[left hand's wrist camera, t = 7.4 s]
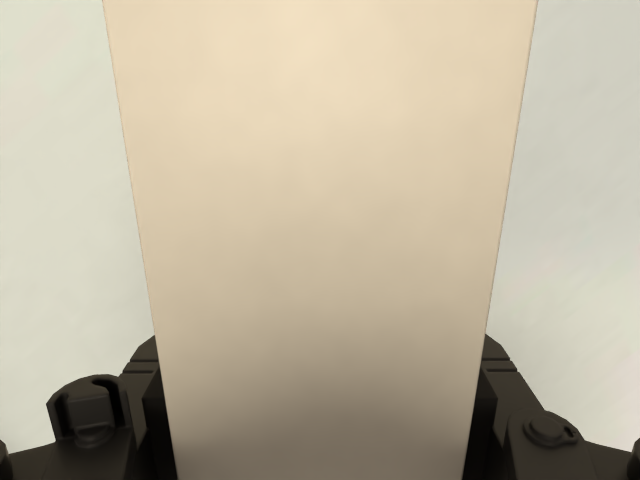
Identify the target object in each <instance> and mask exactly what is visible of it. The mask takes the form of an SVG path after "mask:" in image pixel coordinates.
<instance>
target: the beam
mask: <svg viewBox="0 0 640 480" xmlns="http://www.w3.org/2000/svg"><path fill="white" fill-rule="evenodd" d="M102 2H103V9H104V15H105V21H106V28H107V34H108V40H109V47H110V53H111V59H112V66H113V72H114V78H115V85H116V91H117V97H118V104H119V110H120V116H121V123H122V129H123V135H124V142H125V148H126V154H127V161H128V167H129V173H130V180H131V186H132V192H133V199H134V205H135V211H136V218H137V224H138V230H139V237H140V243H141V249H142V256H143V262H144V268H145V275H146V281H147V287H148V294H149V300H150V306H151V313H152V319H153V325H154V332H155V338H156V344H157V351H158V357H159V363H160V370H161V376H162V382H163V389H164V395H165V401H166V408H167V414H168V421H169V427H170V433H171V440H172V446H173V452H174V459H175V465H176V471H177V478H178V480H462V477H463V470H464V464H465V458H466V452H467V445H468V439H469V433H470V426H471V420H472V414H473V408H474V401H475V395H476V389H477V382H478V376H479V370H480V363H481V357H482V351H483V345H484V338H485V332H486V326H487V319H488V313H489V307H490V301H491V294H492V288H493V282H494V275H495V269H496V263H497V256H498V250H499V244H500V238H501V231H502V225H503V219H504V212H505V206H506V200H507V194H508V187H509V181H510V175H511V168H512V162H513V156H514V149H515V143H516V137H517V131H518V124H519V118H520V112H521V105H522V99H523V93H524V87H525V80H526V74H527V68H528V61H529V55H530V49H531V42H532V36H533V30H534V24H535V17H536V11H537V5H538V0H102Z"/></svg>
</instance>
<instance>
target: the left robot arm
mask: <svg viewBox="0 0 640 480" xmlns="http://www.w3.org/2000/svg"><path fill="white" fill-rule="evenodd" d="M46 406H47V410H48V413H49V417H50V421H51V424H52V428H53V432H54V435H55V439H56V441H55V442H54V443H51V444H48V445H45V446H41V447H37V448H33V449H28V450H24V451H20V452H16V453H11V454H8V451H7V448H6V445H5V443H3V442H2V441H1V440H0V480H178V478H177V471H176V465H175V459H174V452H173V446H172V440H171V433H170V427H169V421H168V414H167V408H166V401H165V395H164V389H163V382H162V376H161V370H160V363H159V357H158V351H157V344H156V338H155V335H154V336H152V337H151V338H150V339H148V340H147V341H146V342H144V343H143V344H142V345H140V346H139V347H138V348H137V350H136V351H135V353H134V354H133V356H132V357H131V359H130V362H128V363H127V365H126V366H125V368H124V369H123V373H122V374H120V375H119V377H117V376H113V375H109V374H102V375H92V376H88V377H84V378H80V379H78V380H75V381H73V382H71V383H69V384H67V385H65V386H64V387H62V388H61V389H59V390H58V391H57V392H55V393H54V394H53V395H52V397H51V398H50V399H49V401H48V402H47V403H46ZM462 480H640V438H639V439H638V440H637V441H636V442H635V443H634V446H633V450H632V452H628V451H624V450H619V449H615V448H611V447H607V446H602V445H598V444H595V443H591V442H588V441H585V440H584V439H583V437H582V435H581V434H580V432H579V431H578V429H577V428H575V427H574V426H573V425H572V424H571V423H570V422H568V421H567V420H566V419H564V418H562V417H560V416H558V415H556V414H554V413H552V412H549V411H545V410H544V408H543V407H542V405H541V404H540V402H539V401H538V399H537V398H536V396H535V395H534V393H533V392H532V390H531V389H530V388H529V386H528V385H527V383H526V382H525V380H524V379H523V377H522V376H521V374H520V373H519V372H517V368H516V367H515V365H514V364H513V362H512V361H510V358H509V356H508V355H507V353H506V352H505V350H504V349H503V347H502V346H501V345H500V344H499V343H497V342H496V341H495V340H493V339H492V338H491V337H489V336H488V335H487V334H485V338H484V345H483V351H482V357H481V363H480V370H479V376H478V382H477V389H476V395H475V401H474V408H473V414H472V420H471V426H470V433H469V439H468V445H467V452H466V458H465V464H464V470H463V477H462Z"/></svg>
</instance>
